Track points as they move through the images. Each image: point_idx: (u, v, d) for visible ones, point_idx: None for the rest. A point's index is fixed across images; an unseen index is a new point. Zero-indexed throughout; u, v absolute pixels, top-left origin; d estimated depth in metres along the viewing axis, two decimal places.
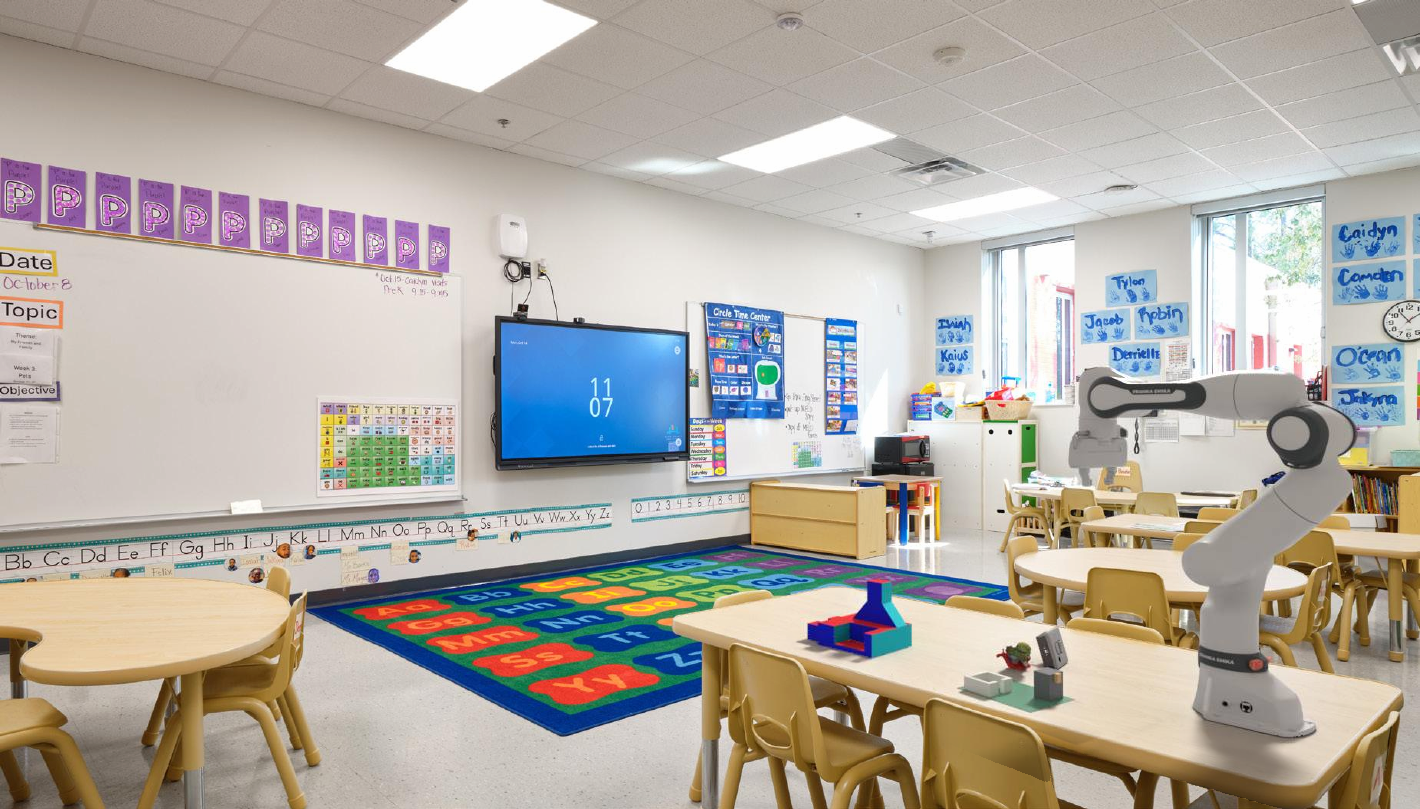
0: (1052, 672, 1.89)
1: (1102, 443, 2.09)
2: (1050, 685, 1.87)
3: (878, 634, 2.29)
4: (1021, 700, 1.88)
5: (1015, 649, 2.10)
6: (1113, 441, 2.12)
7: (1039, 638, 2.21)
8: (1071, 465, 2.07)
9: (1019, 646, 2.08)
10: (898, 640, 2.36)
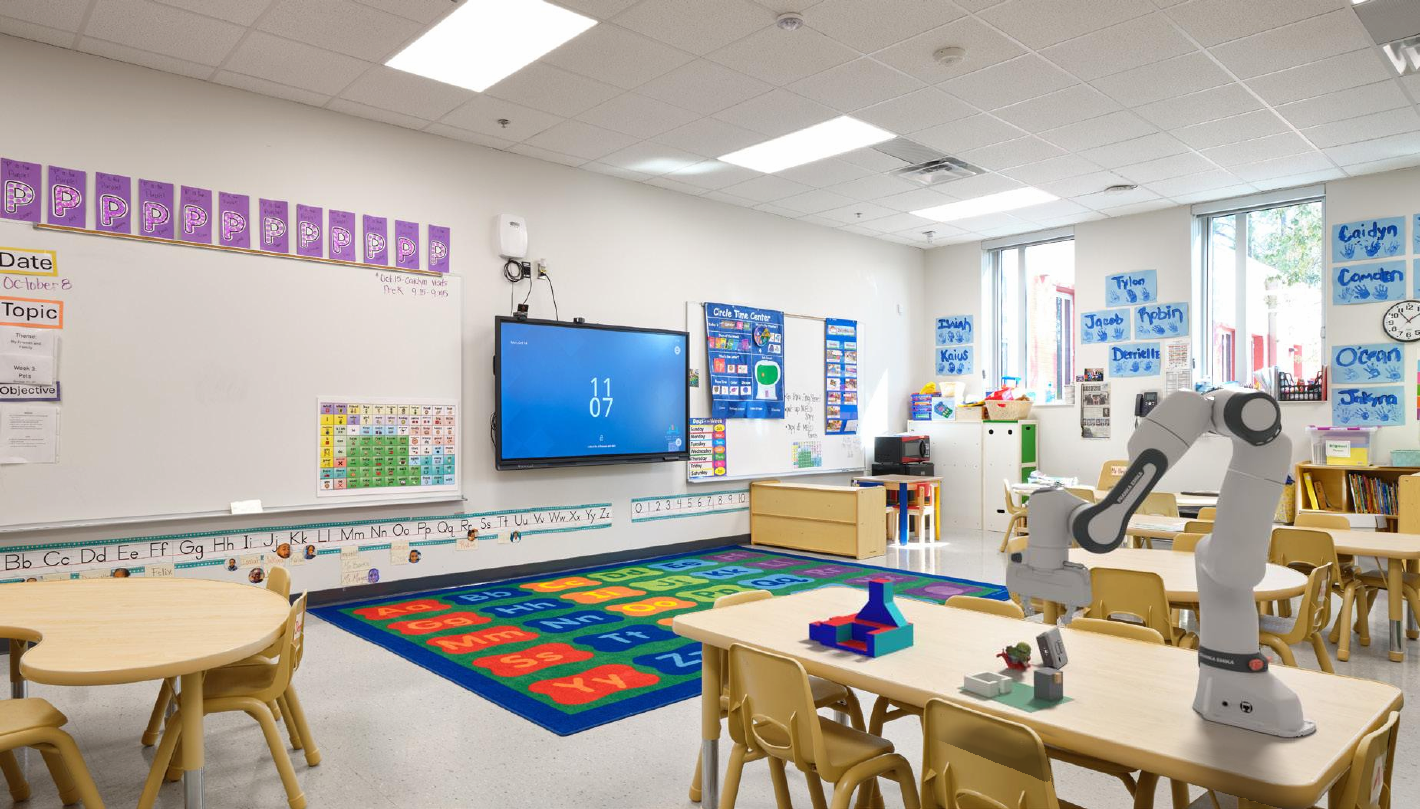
0: (1052, 672, 1.89)
1: None
2: (1050, 685, 1.87)
3: (881, 634, 2.30)
4: (1021, 700, 1.88)
5: (1015, 649, 2.10)
6: None
7: (1039, 638, 2.21)
8: (1085, 604, 1.82)
9: (1019, 646, 2.08)
10: (900, 639, 2.36)
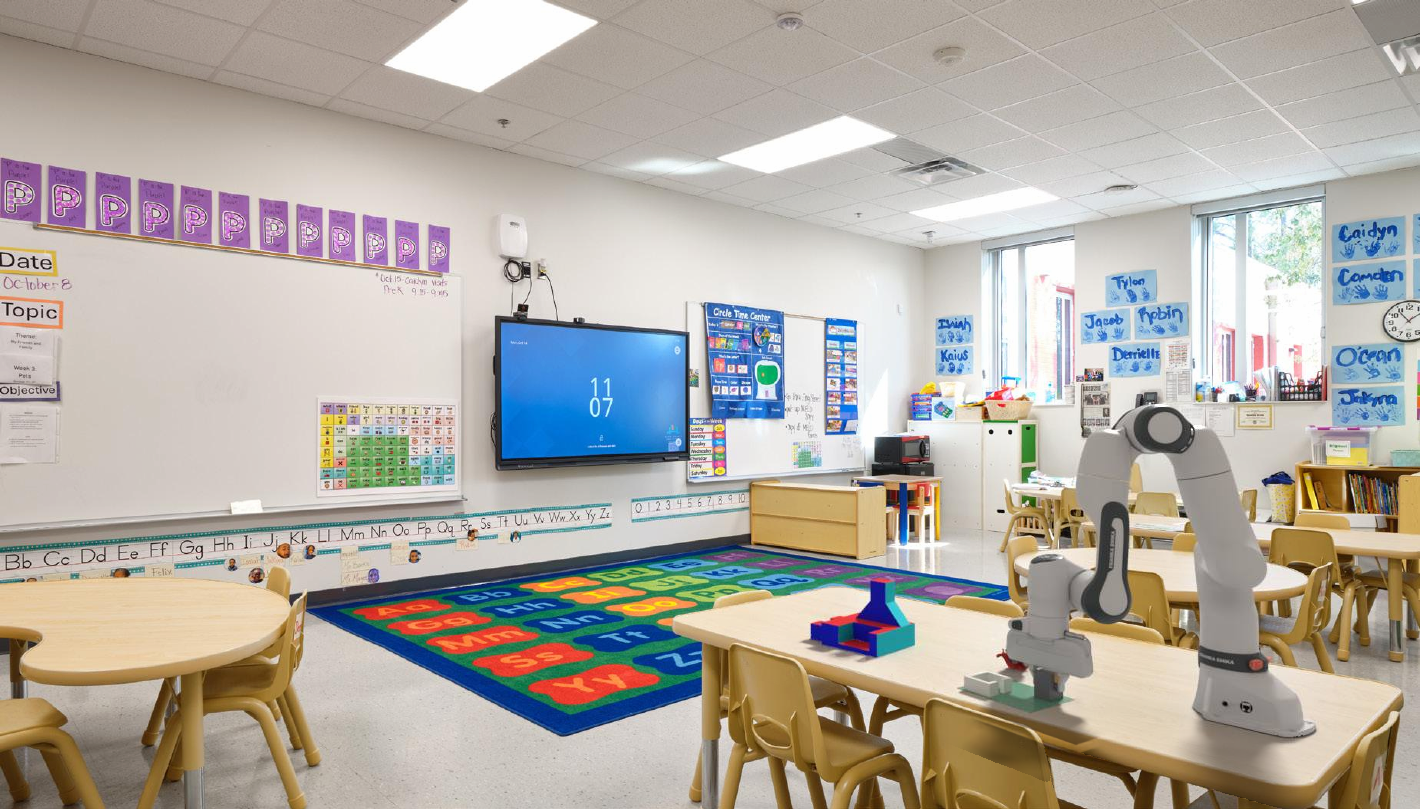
0: (1053, 672, 1.89)
1: None
2: (1050, 685, 1.87)
3: (883, 634, 2.30)
4: (1021, 700, 1.88)
5: None
6: None
7: None
8: (1086, 675, 1.82)
9: None
10: (902, 639, 2.37)
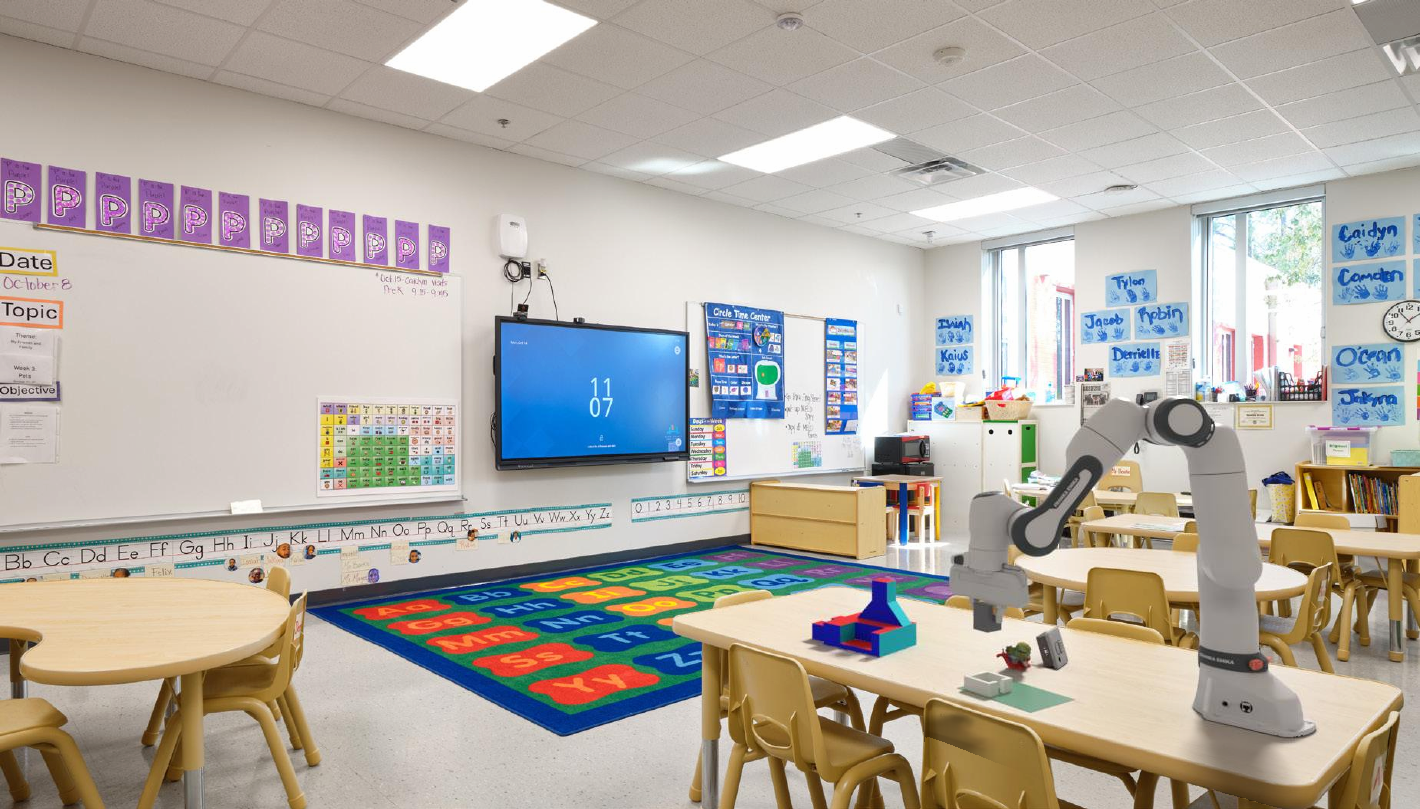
0: (991, 604, 1.95)
1: None
2: (988, 616, 1.93)
3: (885, 633, 2.30)
4: (1021, 700, 1.88)
5: (1015, 649, 2.10)
6: None
7: (1039, 638, 2.21)
8: (1022, 605, 1.87)
9: (1018, 646, 2.08)
10: (904, 639, 2.37)
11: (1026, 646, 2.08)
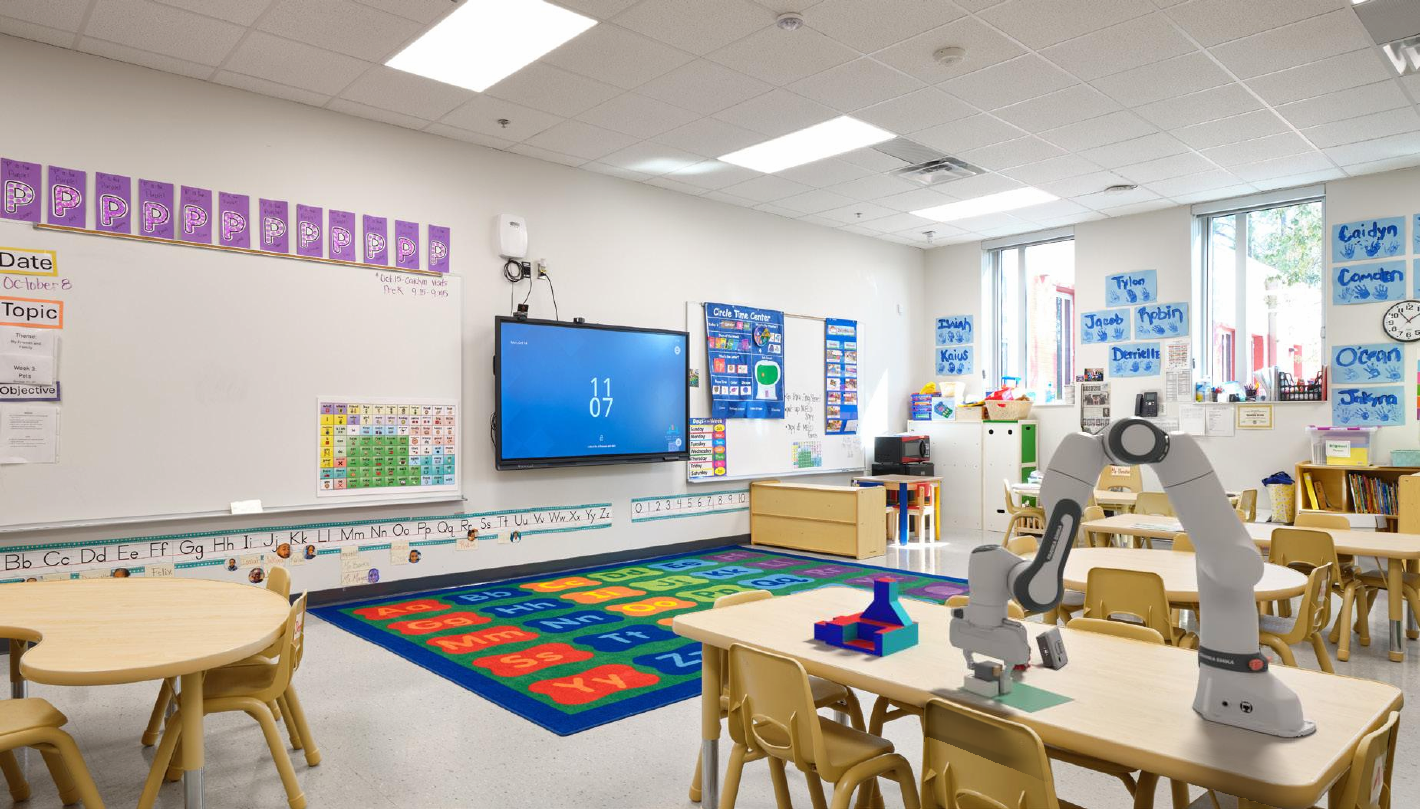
0: (992, 665, 1.94)
1: None
2: (989, 678, 1.93)
3: (888, 633, 2.31)
4: (1021, 700, 1.88)
5: None
6: None
7: (1039, 638, 2.21)
8: (1022, 661, 1.87)
9: None
10: (906, 638, 2.37)
11: None
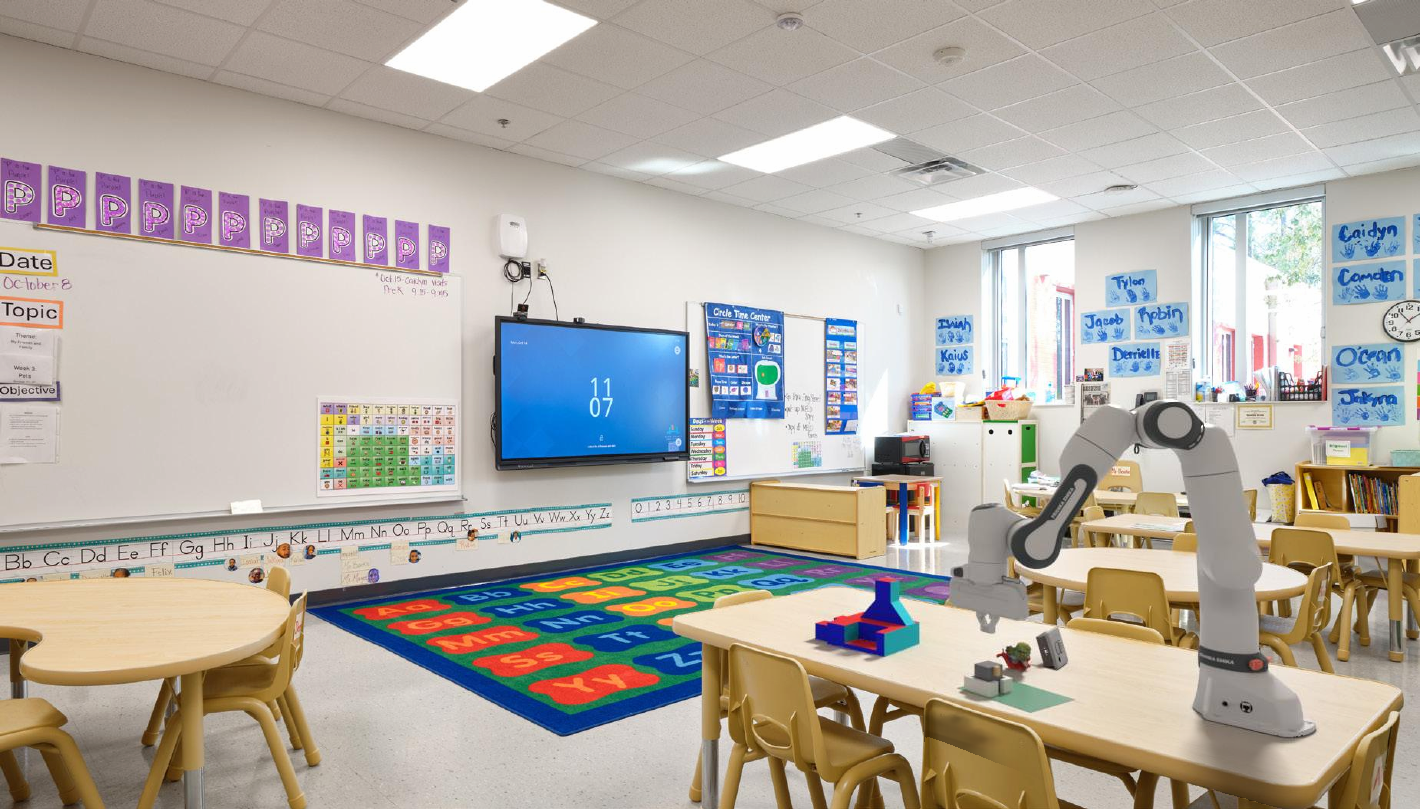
0: (992, 665, 1.94)
1: None
2: (989, 678, 1.93)
3: (890, 633, 2.31)
4: (1021, 700, 1.88)
5: (1015, 649, 2.10)
6: None
7: (1039, 638, 2.21)
8: (1021, 618, 1.87)
9: (1018, 646, 2.08)
10: (908, 638, 2.38)
11: (1026, 646, 2.08)
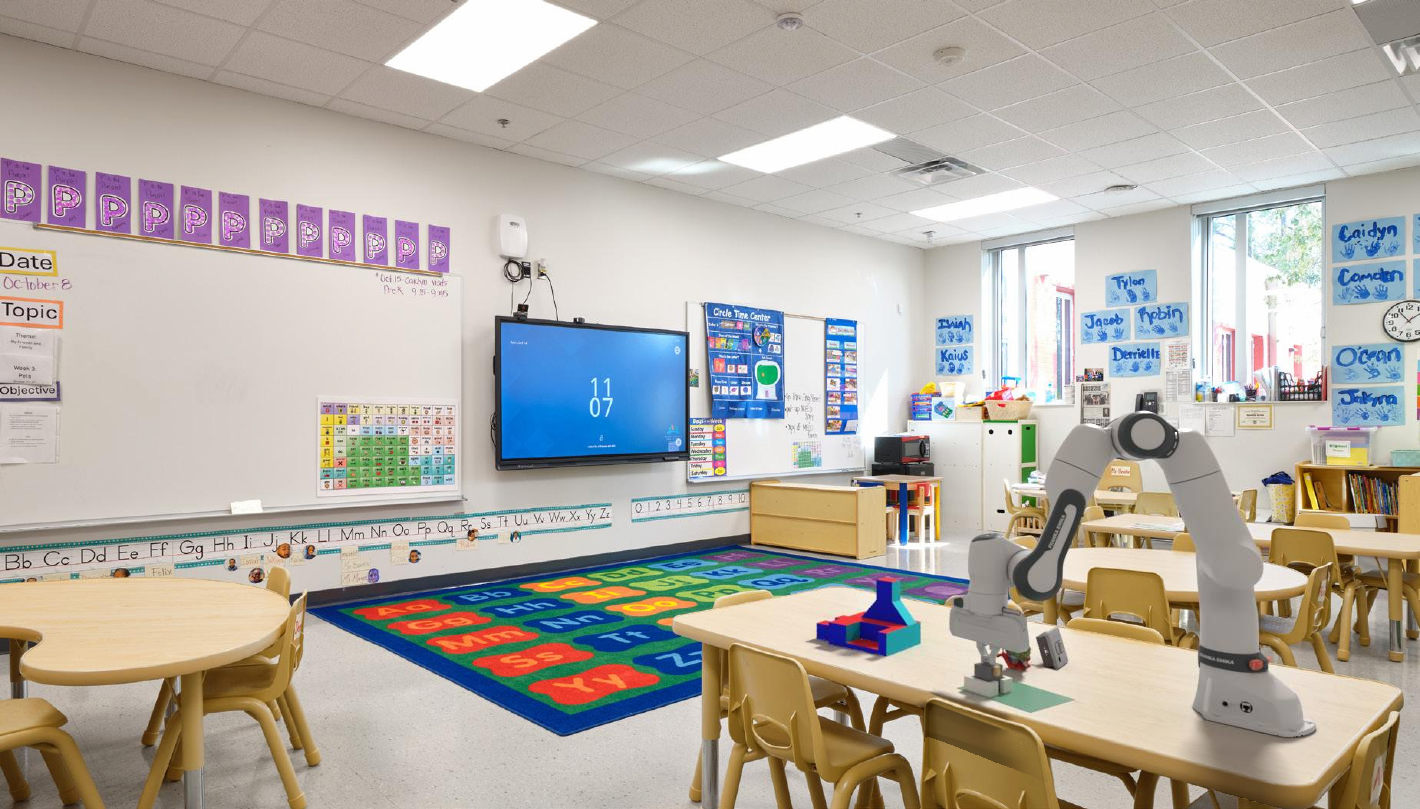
0: (992, 665, 1.94)
1: None
2: (989, 678, 1.93)
3: (892, 632, 2.31)
4: (1021, 700, 1.88)
5: None
6: None
7: (1039, 638, 2.21)
8: (1022, 650, 1.87)
9: None
10: (909, 638, 2.38)
11: None
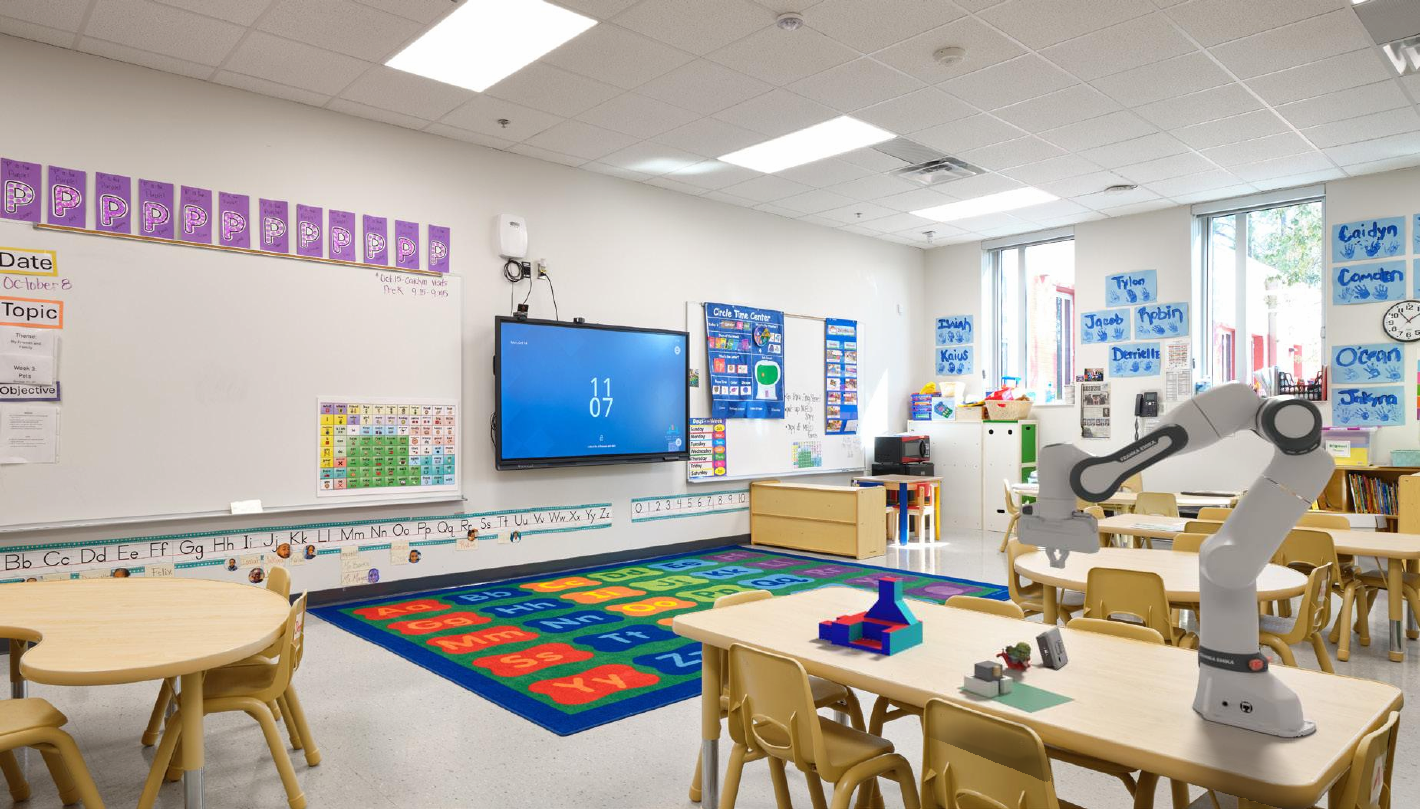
0: (992, 665, 1.94)
1: None
2: (989, 678, 1.93)
3: (895, 632, 2.32)
4: (1021, 700, 1.88)
5: (1015, 649, 2.11)
6: None
7: (1039, 638, 2.21)
8: (1093, 550, 1.92)
9: (1018, 646, 2.08)
10: (912, 637, 2.39)
11: (1026, 646, 2.08)
